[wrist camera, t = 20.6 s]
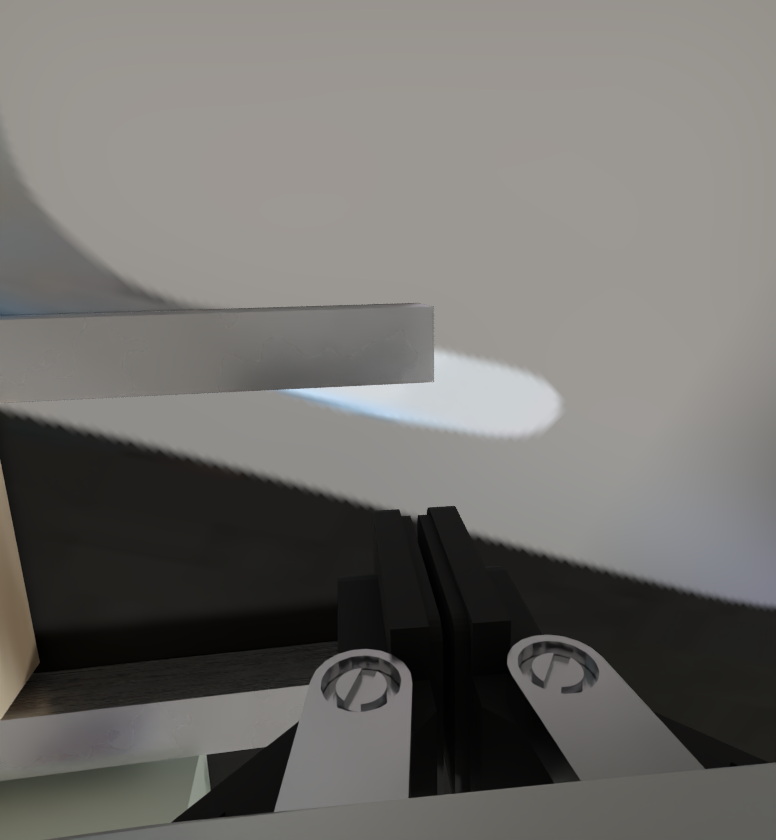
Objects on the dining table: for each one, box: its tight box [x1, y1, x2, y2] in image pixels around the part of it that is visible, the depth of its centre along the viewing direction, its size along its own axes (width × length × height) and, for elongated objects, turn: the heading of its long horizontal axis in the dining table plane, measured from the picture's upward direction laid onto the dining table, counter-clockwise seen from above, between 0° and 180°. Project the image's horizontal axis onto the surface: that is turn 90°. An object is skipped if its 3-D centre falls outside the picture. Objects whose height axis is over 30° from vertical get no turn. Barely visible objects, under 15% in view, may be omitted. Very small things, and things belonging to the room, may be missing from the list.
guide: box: [0, 303, 434, 781], centre depth 15 cm, size 22×13×5 cm, turn 91°
